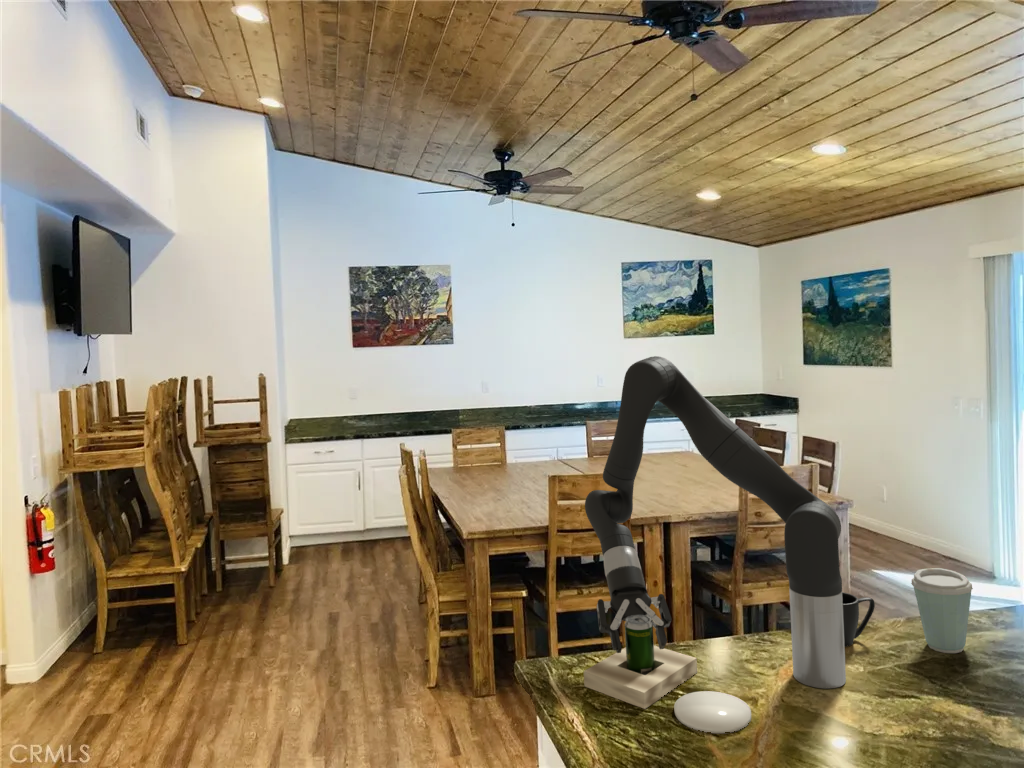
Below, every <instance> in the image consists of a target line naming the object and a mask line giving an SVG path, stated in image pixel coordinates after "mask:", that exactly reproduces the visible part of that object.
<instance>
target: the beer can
mask: <svg viewBox="0 0 1024 768" xmlns="http://www.w3.org/2000/svg"><path fill="white" fill-rule="evenodd" d="M624 622H625V623H624V636H625V637H624V638H625V647H626V659H627V669H628V670H631V671H634V672H637V673H640V674H643V675H647V674H648V673H650V672H651V671H653V670H654V669H655V661H654V646H655V644H654V627H653V624H652V622H651V618H650V617H648V616H645V615H631V616H628V617H627V618H626V621H624Z"/></svg>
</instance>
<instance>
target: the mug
mask: <svg viewBox="0 0 1024 768" xmlns="http://www.w3.org/2000/svg"><path fill="white" fill-rule="evenodd" d="M842 599H843V621H844V646H845V647H851V646H853V644H854V640H855V639H857V638H859V636H860V635H861V634H862V632H863V631H864V629H865V628H866V627H867V624H868V622H869V621H870V619H871V617H872V615H873V613H874V610H875V606H876V605H875V600H874V599H873V598H871V597H869V596H867V597H866V596H864V597H859V598H858V597H857V596H856V595H854V594H851V593H847V592H844V591H842ZM866 601H867V602H868V601H869V606H868V609H867V611H866V614H865V615H864V617H863V620H862V622H861V623H860V624H859V619H860V603H863V602H866ZM858 625H859V626H858Z"/></svg>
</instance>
